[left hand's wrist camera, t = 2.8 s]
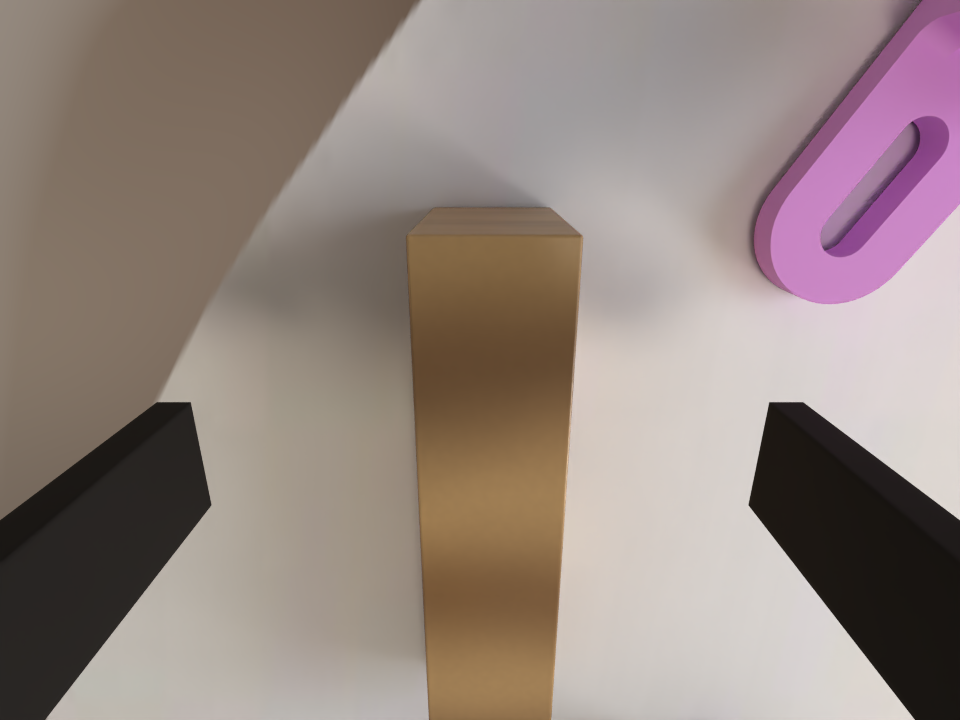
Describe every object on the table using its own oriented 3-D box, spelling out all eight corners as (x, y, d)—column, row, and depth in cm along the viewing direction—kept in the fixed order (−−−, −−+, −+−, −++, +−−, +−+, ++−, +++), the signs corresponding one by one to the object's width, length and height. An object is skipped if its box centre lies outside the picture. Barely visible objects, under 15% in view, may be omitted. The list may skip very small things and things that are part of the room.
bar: (433, 207, 22) (405, 234, 15) (551, 207, 22) (583, 234, 15) (446, 665, 31) (433, 826, 24) (530, 666, 31) (544, 828, 24)
